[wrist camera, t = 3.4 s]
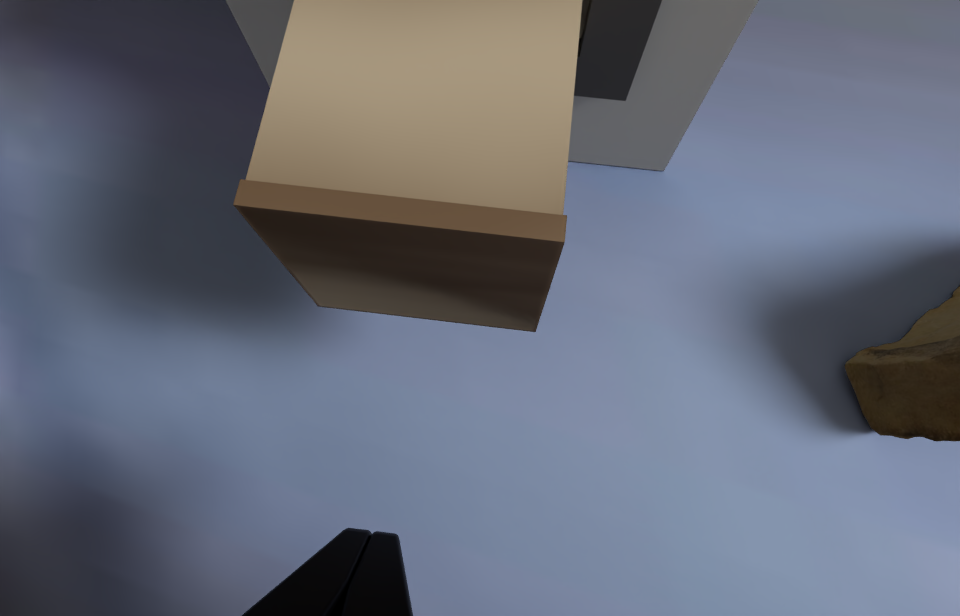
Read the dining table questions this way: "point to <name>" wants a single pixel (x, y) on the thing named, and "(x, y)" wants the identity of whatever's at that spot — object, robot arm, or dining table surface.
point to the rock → (914, 378)
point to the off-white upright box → (601, 69)
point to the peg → (419, 155)
